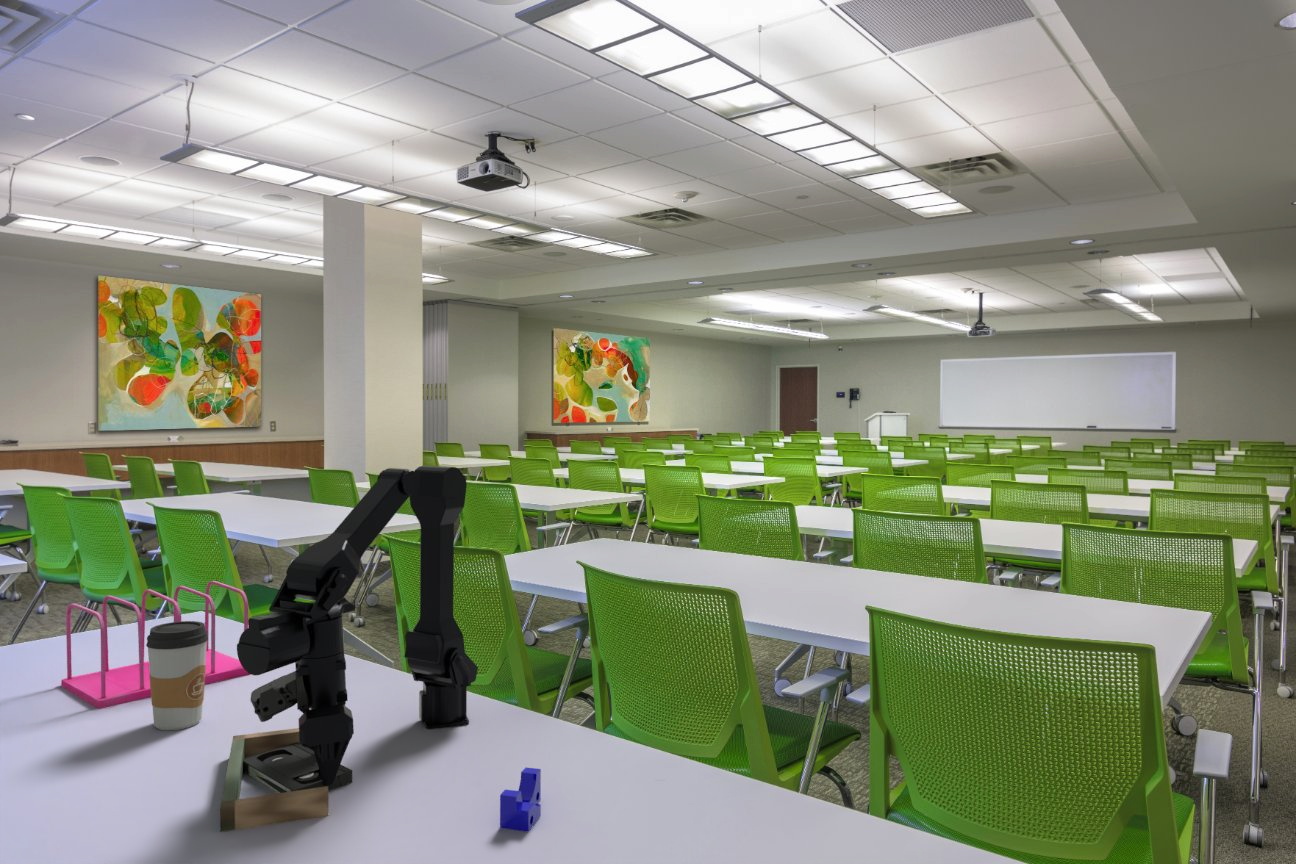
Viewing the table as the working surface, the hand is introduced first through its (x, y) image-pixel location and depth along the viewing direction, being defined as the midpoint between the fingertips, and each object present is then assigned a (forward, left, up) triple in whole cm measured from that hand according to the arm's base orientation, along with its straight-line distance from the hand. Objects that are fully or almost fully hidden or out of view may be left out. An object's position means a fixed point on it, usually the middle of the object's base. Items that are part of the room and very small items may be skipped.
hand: (326, 770), depth 113 cm
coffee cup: (+20, -28, -1) cm, 35 cm away
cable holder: (-22, +19, -1) cm, 29 cm away
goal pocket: (+5, 0, -1) cm, 5 cm away
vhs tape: (+4, -2, -2) cm, 4 cm away
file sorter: (+26, -53, -1) cm, 59 cm away
